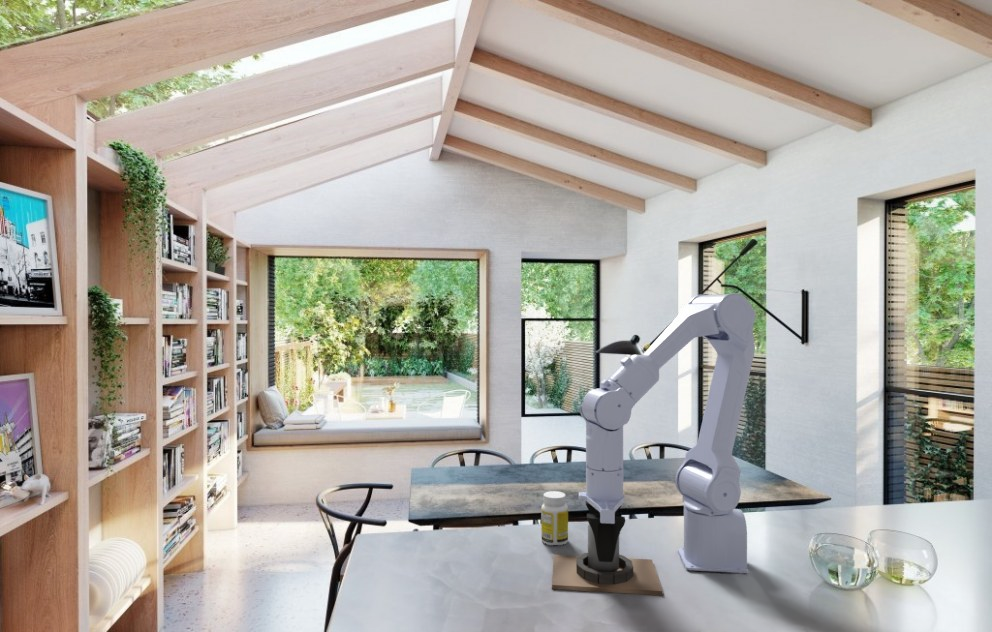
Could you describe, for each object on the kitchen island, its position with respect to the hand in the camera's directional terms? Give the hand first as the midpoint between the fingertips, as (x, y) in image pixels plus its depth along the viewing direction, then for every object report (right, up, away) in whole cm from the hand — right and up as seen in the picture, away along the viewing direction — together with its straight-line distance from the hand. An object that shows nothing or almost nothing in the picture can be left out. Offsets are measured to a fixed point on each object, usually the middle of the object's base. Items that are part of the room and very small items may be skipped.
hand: (604, 553), depth 92 cm
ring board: (0, -3, 0) cm, 3 cm away
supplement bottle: (-6, -4, +14) cm, 16 cm away
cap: (0, -2, 0) cm, 2 cm away
